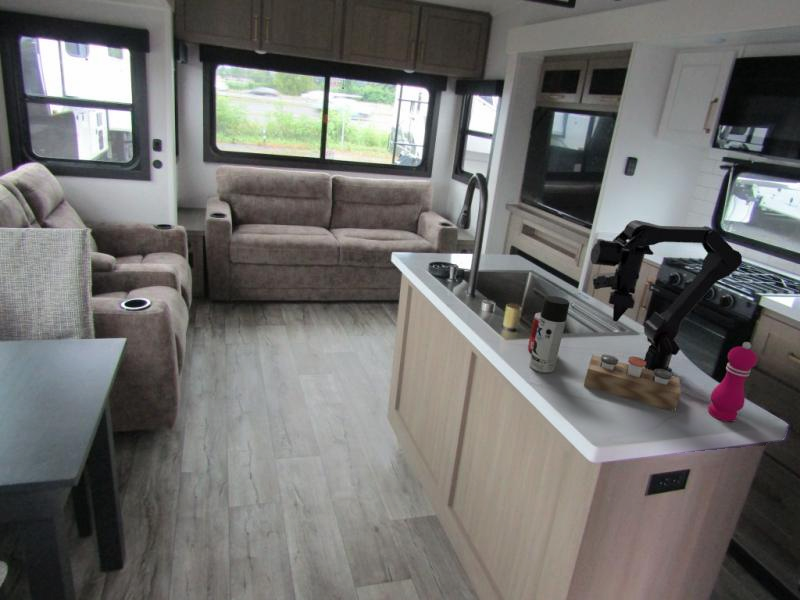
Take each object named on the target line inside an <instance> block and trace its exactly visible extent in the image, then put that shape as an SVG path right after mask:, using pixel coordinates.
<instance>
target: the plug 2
mask: <svg viewBox="0 0 800 600" xmlns="http://www.w3.org/2000/svg"><path fill="white" fill-rule="evenodd" d="M654 375H655V377H654V380H653V381H654V382H658V383H661V384H665V385H667V384H668V380H669V379H671V377H672V376H673V374H672V372H671V371H666V370H664V369H655V370H654Z"/></svg>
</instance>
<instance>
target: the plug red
mask: <svg viewBox="0 0 800 600" xmlns="http://www.w3.org/2000/svg"><path fill="white" fill-rule="evenodd" d="M627 363H628V364H629V368H628V371H627V374H628V375H632V376H636V377H639V378H640V375H641V371H642V368H644V367H646V366H645V365H646V361H645V360H644V359H643V358H642V357H639V356H629V357H628V361H627Z"/></svg>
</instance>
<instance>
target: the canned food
mask: <svg viewBox="0 0 800 600" xmlns="http://www.w3.org/2000/svg"><path fill="white" fill-rule="evenodd" d="M540 315H541V312H536V313H535V314H534V317H533V322H532V325H531V331H530V334H529V335H530V336H529V341H528V345H527V350H528V351H529V353H530V354H532V351H533V346H534V342H535V337H536V333H537V328H538V324H539V319H540Z"/></svg>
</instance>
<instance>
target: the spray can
mask: <svg viewBox="0 0 800 600" xmlns="http://www.w3.org/2000/svg"><path fill="white" fill-rule="evenodd" d="M570 305H571V304H570V301H569V300H568V299H566V298H564V297H560V296H553V295H547V296H544V299H543V303H542V307H541V310H540V311H541V315H540V319H539V324H538V328H537V333H536V337H535V342H534V346H533V351H532V353H531V356H530V360H529V365H530V368H531V369H532V370H533V371H535V372H537V373H541V374H551V373H553V371H554V370H555V367H556V364H557V358H558V354H559V350H560V346H561V342H562V338H563V334H564V330H565V325H566V321H567V317H568V312H569V308H570Z"/></svg>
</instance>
